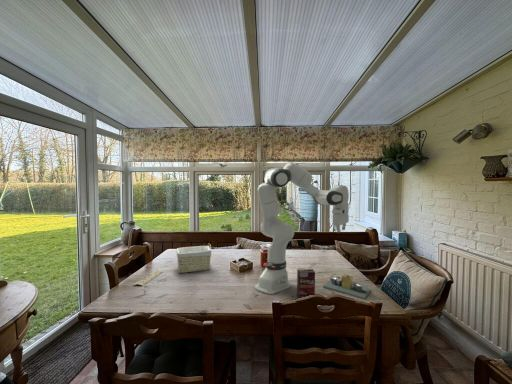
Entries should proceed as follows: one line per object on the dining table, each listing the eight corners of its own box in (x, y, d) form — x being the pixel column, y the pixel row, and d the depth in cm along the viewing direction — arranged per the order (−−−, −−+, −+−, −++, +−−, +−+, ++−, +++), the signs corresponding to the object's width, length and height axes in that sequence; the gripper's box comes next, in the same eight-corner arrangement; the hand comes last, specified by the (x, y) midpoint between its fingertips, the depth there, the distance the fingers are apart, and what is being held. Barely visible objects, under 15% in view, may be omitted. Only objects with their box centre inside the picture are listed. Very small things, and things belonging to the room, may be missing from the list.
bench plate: (364, 299, 125) (364, 297, 125) (323, 287, 139) (323, 285, 139) (370, 290, 135) (370, 289, 135) (331, 280, 149) (331, 279, 149)
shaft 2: (368, 291, 132) (368, 283, 132) (366, 294, 128) (366, 286, 128) (354, 287, 137) (354, 280, 137) (352, 290, 133) (352, 283, 133)
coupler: (341, 287, 137) (341, 275, 137) (343, 285, 140) (344, 273, 140) (350, 289, 134) (350, 277, 134) (352, 287, 137) (352, 275, 137)
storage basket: (208, 263, 183) (208, 244, 182) (212, 270, 168) (212, 250, 167) (176, 267, 174) (176, 247, 174) (177, 275, 159) (176, 253, 159)
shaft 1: (343, 285, 140) (343, 278, 140) (337, 286, 138) (338, 279, 138) (334, 280, 147) (334, 274, 147) (328, 282, 145) (328, 275, 145)
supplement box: (298, 302, 121) (299, 272, 121) (296, 298, 126) (296, 269, 125) (315, 302, 121) (315, 272, 121) (312, 297, 126) (312, 268, 126)
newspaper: (142, 287, 141) (142, 284, 141) (131, 286, 142) (131, 283, 142) (162, 273, 164) (162, 270, 164) (153, 272, 165) (153, 270, 165)
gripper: (341, 208, 163) (341, 228, 163) (330, 210, 147) (330, 232, 147) (351, 208, 159) (351, 229, 159) (340, 211, 143) (340, 234, 143)
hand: (341, 230), depth 153 cm, fingers open, 8 cm apart
